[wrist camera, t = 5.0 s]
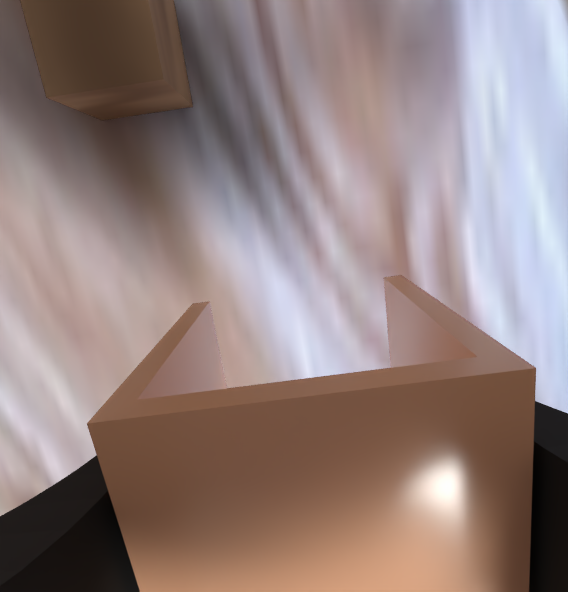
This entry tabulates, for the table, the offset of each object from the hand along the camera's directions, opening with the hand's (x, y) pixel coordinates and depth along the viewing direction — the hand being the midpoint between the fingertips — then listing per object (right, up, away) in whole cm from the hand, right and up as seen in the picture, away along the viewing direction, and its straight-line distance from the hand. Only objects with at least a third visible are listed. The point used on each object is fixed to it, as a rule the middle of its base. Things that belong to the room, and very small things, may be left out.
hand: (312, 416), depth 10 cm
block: (-7, +13, +6) cm, 16 cm away
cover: (0, 0, +2) cm, 2 cm away
